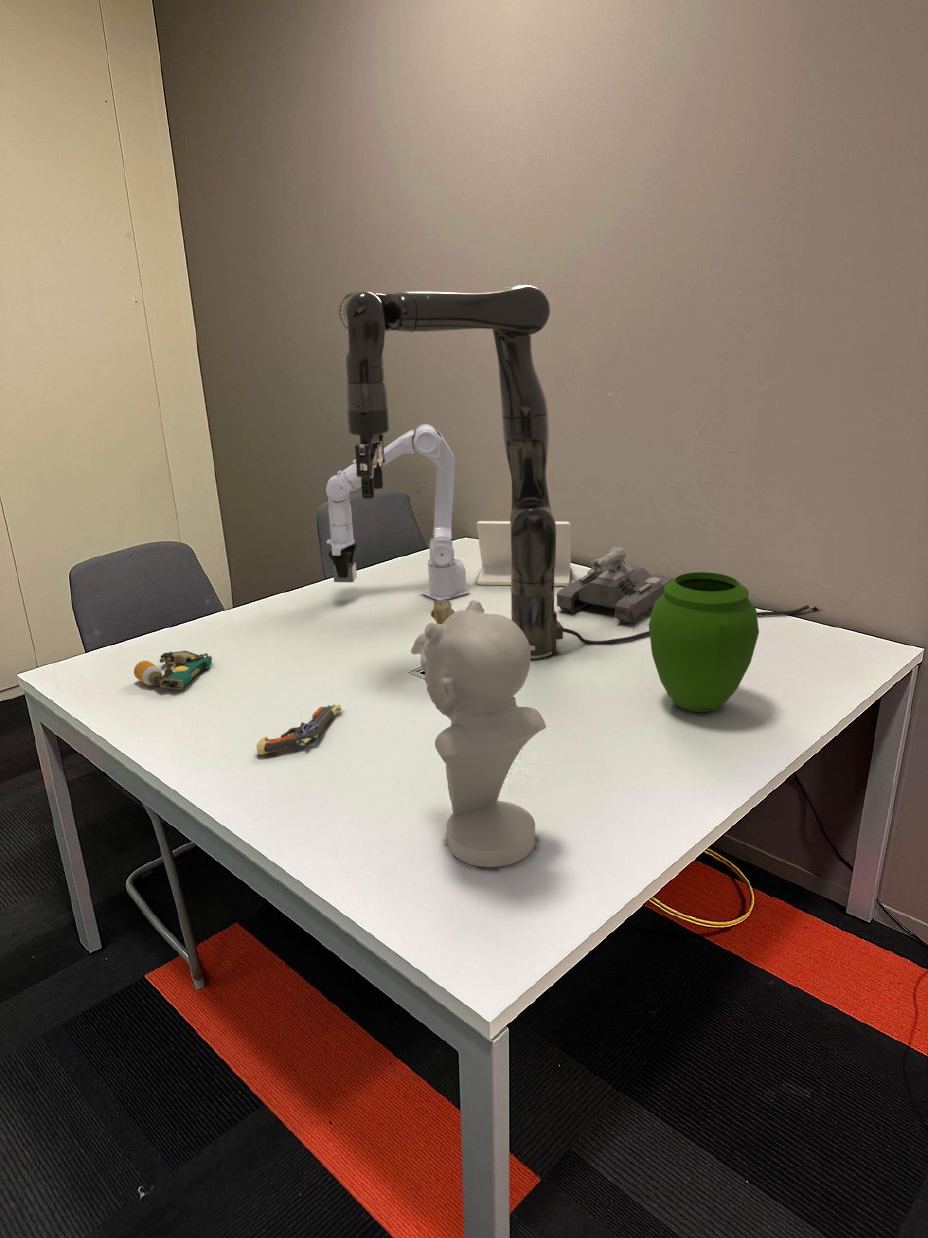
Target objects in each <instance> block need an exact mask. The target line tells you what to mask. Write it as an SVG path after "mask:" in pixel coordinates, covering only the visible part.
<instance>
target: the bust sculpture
mask: <svg viewBox="0 0 928 1238" xmlns="http://www.w3.org/2000/svg"><path fill="white" fill-rule="evenodd" d="M454 612H455V613H453V614H452V615H451V616H450V617H448V618H447V619H446V620H445V622H444V623H443V624H436V623H435V622H430V623H428V624H427V625H426V626H425V628H424V632H423V633H421V634H419V635H418V636H417V637H416V638H415V640H414V642H413V645H412V647H411V649H410V654H412V655H420V667H421V669H422V670H423V672H424V681H425V682H426V690H427V693H428V696H429V698H430V701H431V702H432V704H434V706H435V708H436V710H438V711H439V712H440V713H441V714H442V716H446V717H447V718H448V719H449V720H450V726H448V727H446V728H445V729H443V730H442V731H441V732H440V733H439V734H438V735H436V738H435V741H434V748H435V749H436V752H437V753H438V755H439V757H440V758H441V760H442V761H443V762H444V763H445V771H446V781H447V790H448V796H449V800H450V803H451V810H452V813H451V814H450V815H449V817H448V819H447V822H446V844H447V847H448V849H449V851H450V852H451V854H452V855H453V856H454V857H456V858H457V859H459V860H460V861H462V862H463V863H466V864H469V865H471V866H476V867H483V868H498V867H505V866H509V865H512V864H517V862H520V861H521V860H523V859H525V858H527V856H528V855H530V854H531V852H532V851H533V849H535V848H534V847H535V845H536V822H535V821H536V820H535V819H534V817H533V816H532V814H531V813H530V812H529V811H528V810H526V809H525V808H524V807H522V806H520V805H517V804H515V803H513V802H509V801H504V800H499V796H500V793H501V790H502V788H503V785H504V783H505V780H506V778H507V776H508V773H509V771H510V769H511V768H512V765H513V763H514V761H515V760H516V759H517V756H518V755H519V753H520V752H521V750H522V749H523V748H524V747H525V745H526V744H527V743H528V742H529V741H530V740H531V739H532V738H533V737H535V735H537V734H538V733H539V732H541V731H544V730H545V729H546V728H547V725H546V723H545V720H544V718H543V717H542V714H541V713H540V712H539V711H538V710H537V709H535V708H533V707H530V706H518V705H517V701H516V699H517V698H516V696H515V695H516V694H517V693H519V691H521V689H522V688H523V686H524V684H525V683H526V680H527V678H528V675H529V669H530V666H531V659H530V656H531V655H530V653H531V652H530V646H529V643H528V640H527V638H526V636H525V634H524V633H523V632H522V630H521V629H520V628H519V627H518V626H517V625H516V624H515V623H514V622H513V621H512V620H511V618H508V617H507V616H504V615H503V614H502V615H501V614H496V613H485V609H484V607H483V605H482V603H481V602H480V601H478V600H473V599H472V600H470V601H469V603H468V605H467V607H466V609H460V610H457V611H454Z"/></svg>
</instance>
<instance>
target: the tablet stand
mask: <svg viewBox="0 0 928 1238" xmlns="http://www.w3.org/2000/svg"><path fill="white" fill-rule="evenodd" d="M555 524H556V558H555V571H554V587H556V586H557V587H566V586H567V585H569V584H570V580H571V579H570V578H571V565H572V564H571V560H572V558H571V522H569V521H555ZM476 531H477V537H478V544H479V551H480V557H481V558H480V559H481V570H480V573H479V575H478V577H477V580H476V581H477V582H476V584H478V585H484V586H485V585H486V586H487V585H489V586H490V585H491V586H511V525H510V520H505V521H504V520H477V522H476Z"/></svg>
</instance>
